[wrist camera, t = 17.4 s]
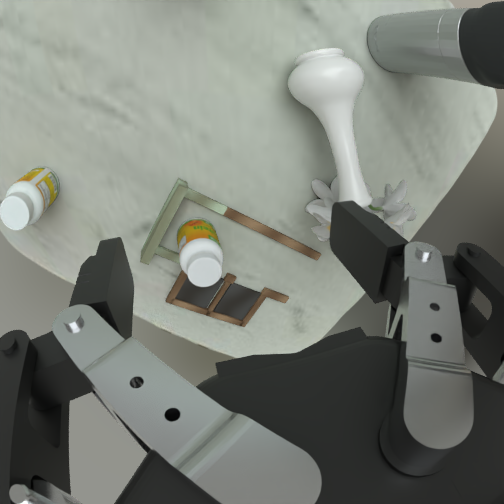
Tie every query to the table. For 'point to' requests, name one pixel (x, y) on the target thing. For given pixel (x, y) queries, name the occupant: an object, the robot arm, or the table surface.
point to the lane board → (236, 296)
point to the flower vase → (341, 138)
